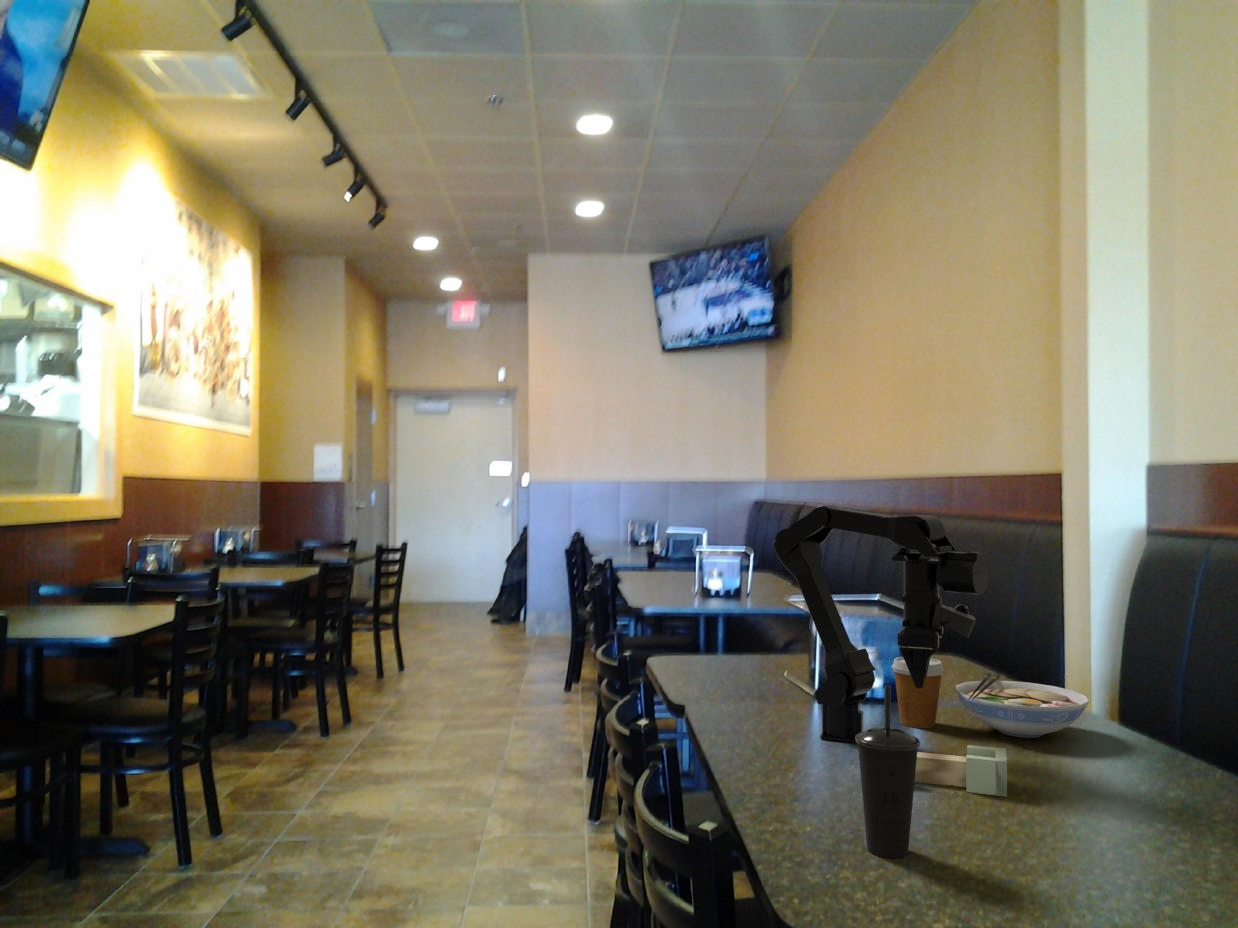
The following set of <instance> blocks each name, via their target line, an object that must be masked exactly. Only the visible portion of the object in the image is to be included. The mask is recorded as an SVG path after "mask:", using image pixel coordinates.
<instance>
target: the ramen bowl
mask: <svg viewBox="0 0 1238 928" xmlns="http://www.w3.org/2000/svg"><path fill="white" fill-rule="evenodd" d="M991 677H992V673H991V672H987V673H986V674H985V676H984V677H983V678H982V679H981V680H976V681H966V682H962V683H960V684H957V685H955V691H956V694H957V697H958V698H959V700H960V702H961V703H962V704H963V706H964V708H965V709H966V710H967V712H968V713H969V714H970V715H971V716H973V717H974V718H975V719H976V720H978V721H980V722H981V723H983V724H985V725H986V726H988V727H991V728H993V729H996V730H997V731H998V732H1000V733H1002V734H1004V735H1006V736H1011V737H1017V738H1024V739H1026V738H1027V739H1028V738H1029V739H1031V738H1032V739H1033V738H1040V737H1042V736H1044V735H1047V734H1051V733H1055V732H1059V731H1061V730H1064V729H1065V728H1067V727H1069V726H1070V725H1072V724H1074V723H1075V722H1076V721H1077V720H1078V719H1079V718H1080V717H1081V715H1082V714H1083V713H1084V711H1085V710H1086V708H1087V707H1088V704H1089V703H1090V699H1089V698H1088V696H1087V695H1086V694H1082V693H1080V692H1077V691H1076V690H1071V689H1068V688H1065V687H1064V688H1063V687H1060V686H1054V685H1049V684H1047V685H1046V684H1041V683H1035V682H1027V681H1026V682H1024V681H1015V680H1014V681H1013V680H1011V681H1010V680H999V679H1000V678H1001V674H1000V673H996V674H995V675H994V676H993V677H992V678H991ZM990 678H991V679H990ZM989 679H990V680H989Z"/></svg>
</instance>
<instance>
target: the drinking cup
mask: <svg viewBox="0 0 1238 928" xmlns="http://www.w3.org/2000/svg"><path fill="white" fill-rule="evenodd" d="M891 688H892V687H891V686H890V685H884V726H878V727H872V728H869V729H866V730H865V731H864V730H863V732H861V733H858V734H857V735H856V737H855V740H856V742H855V743H857V748H858V759H859V760H858V761H859V769H860V780H861V781H860V783H861V784H860V785H861V793H862V805H863V806H862V807H863V816H864V817H863V818H864V828H865V838H866V849H867V851H868V852H869V853H870V854H871V855H874V856H877V857H880V858H886V859H900V858H901V859H902V858H904V857H906V856H908V854H909V848H910V847H909V846H910V835H911V826H912V825H911V824H912V814H913V803H914V793H915V783H916V782H915V772H916V761H917V752H918V749H919V748H920V746H921V740H920V739H919V738H918V737H916V736H914V735H912V734H910V733H908V732H907V731H905V730H902V729H899V728H895V727H891V706H892V705H891V693H892V692H891Z"/></svg>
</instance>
